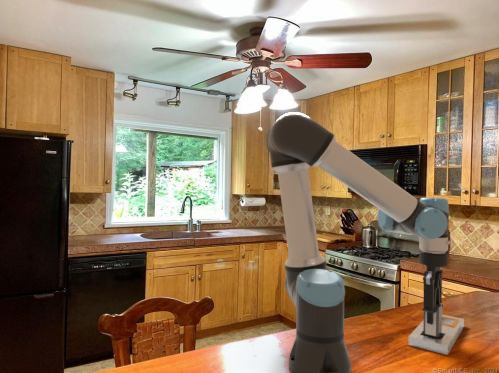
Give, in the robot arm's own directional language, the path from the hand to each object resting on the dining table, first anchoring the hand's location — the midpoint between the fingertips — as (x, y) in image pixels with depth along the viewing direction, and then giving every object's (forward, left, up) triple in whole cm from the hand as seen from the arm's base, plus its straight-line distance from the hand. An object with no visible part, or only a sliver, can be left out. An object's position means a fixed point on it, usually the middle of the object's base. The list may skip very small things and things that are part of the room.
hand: (432, 331), depth 108 cm
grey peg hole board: (0, +7, -3) cm, 8 cm away
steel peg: (0, 0, -3) cm, 3 cm away
